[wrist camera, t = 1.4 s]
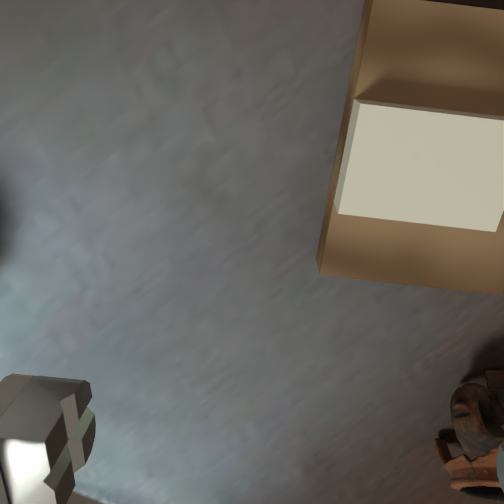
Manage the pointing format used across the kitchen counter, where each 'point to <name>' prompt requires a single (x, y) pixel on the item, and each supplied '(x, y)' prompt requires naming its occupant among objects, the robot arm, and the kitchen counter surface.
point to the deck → (423, 95)
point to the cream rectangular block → (423, 166)
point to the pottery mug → (476, 438)
